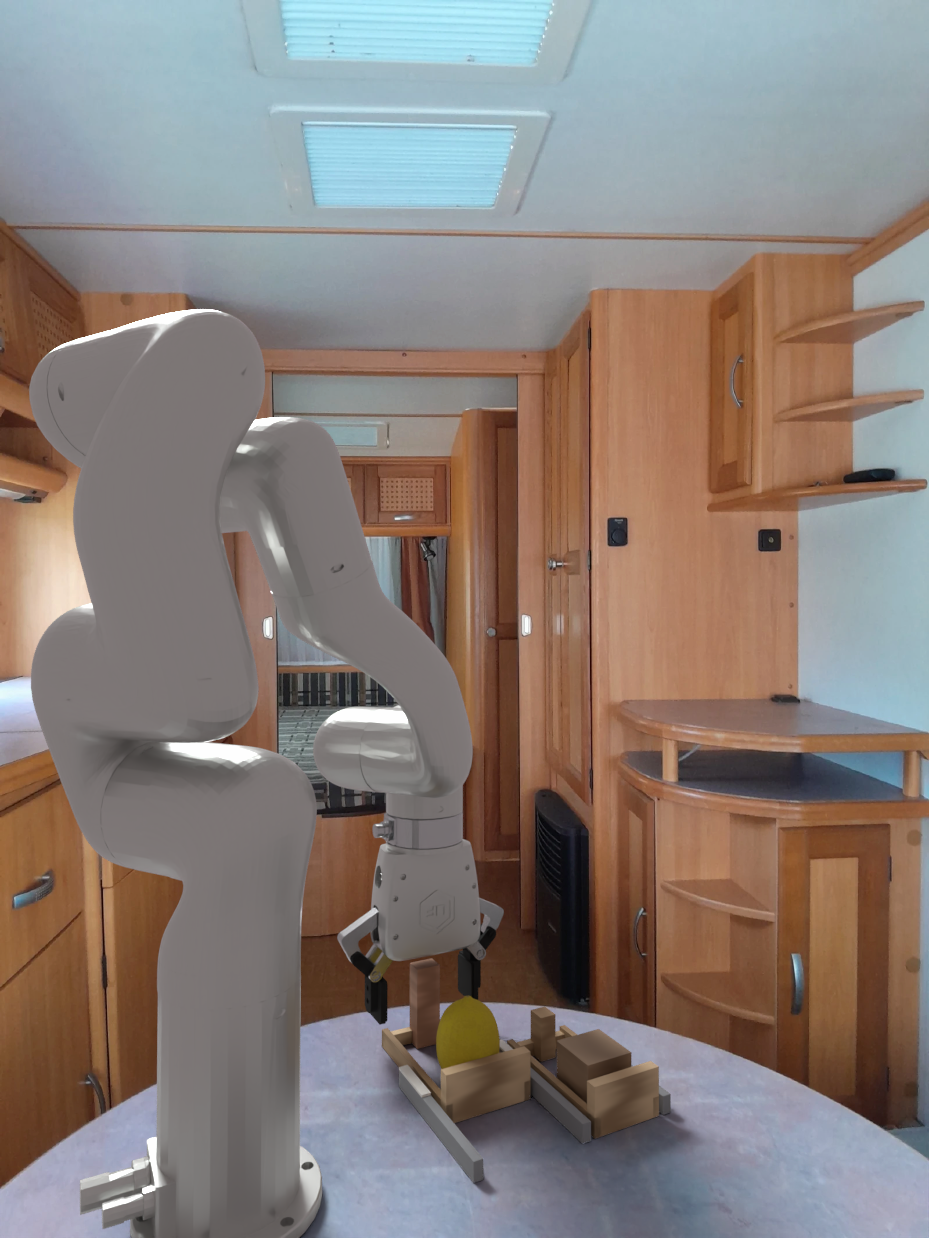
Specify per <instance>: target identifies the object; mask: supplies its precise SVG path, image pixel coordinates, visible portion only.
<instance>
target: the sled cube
mask: <svg viewBox="0 0 929 1238" xmlns="http://www.w3.org/2000/svg"><path fill="white" fill-rule="evenodd" d="M575 1035H578V1033H576V1032H575V1031H573V1030H572V1029H571V1028H569V1027H568V1026H567V1025H565V1024H563V1025H559V1029H558V1030H557V1031H556V1013H555V1012H553V1011H552V1010H550V1009H549V1008H547V1007H546V1006H541V1007H537V1008H533V1009H530V1038H528V1039H524V1040H520V1041H516V1040H514V1039H513V1038H511V1039H508V1040H506V1043H507V1044H508V1045H509V1046H510V1047H511V1048H512V1049H516V1048H520V1047H523V1046H525V1047H526V1048H527V1049H528V1050H529V1051H530V1067H531V1068H532V1069H533V1070H534V1071H535V1072H537V1073H538V1074H539V1075H540V1076H541V1077H542V1078H543V1079H544V1080H545V1081H547V1082H548V1083H549V1084H550V1085H551V1086H552V1087H553V1088H554V1089H555V1090H557V1091H558V1092H559V1093H560V1094H561V1095H562V1096H563V1097H564V1098H566V1099H567V1100H568V1101H569V1102H570V1103H571V1104H572V1105H573V1106H574V1107H576V1108H577V1109H578V1110H579V1111H580V1112H581V1113H582V1114H583V1115H584V1116H586V1117H587V1118H588V1119H589V1120H590V1121H591V1138H592V1139H595V1140H596V1139H599V1138H602V1137H604V1136H607V1135H610V1134H613V1133H616V1132H618V1131H620V1130H624V1129H627V1128H630V1127H632V1126H635V1125H637V1124H640V1123H643V1122H646V1121H649V1120H652V1119H655V1118H656V1117H657V1118H658V1117H659V1116H660V1112H659V1086H660V1080H659V1079H660V1078H659V1077H660V1066H659V1065H657V1064H656V1063H654V1062H653V1061H652V1060H649V1061H645V1062H642V1063H638V1064H636V1065H632V1066H633V1067H629V1068H626V1069H623V1070H620V1071H617V1072H614V1073H610V1074H607V1075H604V1076H601V1077H598V1078H595V1079H591V1080H588V1081H587V1104H586V1103H585V1102H584V1101H583V1100H582V1099H581V1098H580V1097H578V1096H577V1095H576V1094H575V1093H574V1092H573V1091H572V1090H570V1089H569V1088H568V1087H567V1086H566V1085H565V1084H563V1083H562V1082H561V1081H560V1080H559V1079H558V1078H557V1076H555V1075H554V1073H552V1072H551V1071H550V1070H548V1069H547V1068H546V1067H545V1066H544V1065H543V1064H541V1063H542V1062H545V1061H548V1060H552V1059H555V1058H556V1059H557V1040H561V1039H564V1038H568V1037H572V1036H575ZM540 1062H541V1063H540Z"/></svg>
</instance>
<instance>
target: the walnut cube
mask: <svg viewBox="0 0 929 1238" xmlns="http://www.w3.org/2000/svg"><path fill="white" fill-rule="evenodd" d="M631 1065H632V1051H631V1050H629V1049H627V1047H625V1046H624V1045H622V1044H621V1043H619V1042H617V1041H616V1039H613V1038H612V1037H611V1036H610V1035H608V1034H606V1033H605V1032H604V1031H603V1030H601V1029H599V1028H597V1029H593V1030H590V1031H586V1032H583V1033H580V1034H577V1035H575V1036H572V1037H568V1038H564V1039H561V1040H557V1049H556V1077H557V1078H558V1079H559V1080H560V1081H561V1082H562V1083H563V1084H565V1085H566V1086H567V1087H568V1088H569V1089H570V1090H572V1091H573V1092H574V1093H575V1094H576V1095H577V1096H578V1097H580V1098H581V1099H582V1100H583V1101H584V1102H585V1103H586V1104H587V1081H588V1080H591V1079H595V1078H598V1077H601V1076H604V1075H607V1074H610V1073H614V1072H617V1071H620V1070H623V1069H626V1068H629V1067H631Z"/></svg>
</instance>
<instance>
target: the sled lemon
mask: <svg viewBox="0 0 929 1238" xmlns="http://www.w3.org/2000/svg"><path fill="white" fill-rule="evenodd" d="M440 1019H441V964H440V963H438V962H437V961H436V960H434V959H433V958H427V959H421V960H418V961H413V962H409V1026H408V1027H403V1028H400V1029H399V1028H398V1029H395V1030H390V1029H389V1028H388V1027H387V1028H382V1029H381V1048H382V1049H384V1051H385V1052H386V1053H387V1055H388V1056H389V1057H390V1058H391V1060H392V1061H393V1062H394V1063H395V1064H396V1066H397V1067H398V1068H399V1067H401V1066H405V1065H408V1066H409V1067H410V1068H411V1069H412V1071H413V1072H414V1073H415V1074H416V1075H417V1077H418V1078H419V1079H420V1080H421V1081H422V1083H423V1084H424V1085H425V1086H426V1087H427V1088H428V1090H429V1091H430V1092H431V1096H432V1097H433V1098H434V1100H435V1101H436V1102H437V1103H438V1105H439V1106H440V1107H441V1108H442V1109H443V1111H444V1112H445V1113H446V1114H447V1115H448V1117H449V1118H450V1119H451V1120H452V1121H453V1123H454V1124H456V1123H459V1122H463V1121H466V1120H469V1119H473V1118H475V1117H479V1116H481V1115H482V1116H483V1115H485V1114H488V1113H492V1112H494V1111H497V1110H501V1109H503V1108H508V1107H510V1106H514V1105H516V1104H519V1103H523V1102H525V1101H528V1100H531V1094H530V1051H529V1050H528V1049H527V1048H526V1047H525V1046H523V1047H520V1048H516V1049H512V1050H509V1051H505V1052H502V1053H501V1052H499V1053H498V1054H494V1055H491V1056H487V1057H484V1058H480V1059H477V1060H473V1061H469V1062H466V1063H462V1064H459V1065H455V1066H451V1067H448V1068H444V1069H441V1068H440V1087H439V1086H438V1085H437V1083H435V1081H434V1080H433V1079H432V1078H431V1077H430V1075H429V1074H428V1073H427V1072H426V1070H425V1069H424V1068H423V1067H422V1066H421V1065H420V1064H419V1063H418V1061H417V1060H416V1059H415V1058H414V1056H413V1055H412V1054H411V1053H410V1052H409V1051H408V1050H407V1049H406V1047H404V1046H407V1045H410V1044H412V1045H413V1046H414V1047H415V1048H416V1049H417V1050H418V1049H424V1048H427V1047H430V1046H434V1045H435V1046H436V1036H437V1030H438V1025H439V1022H440Z"/></svg>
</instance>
